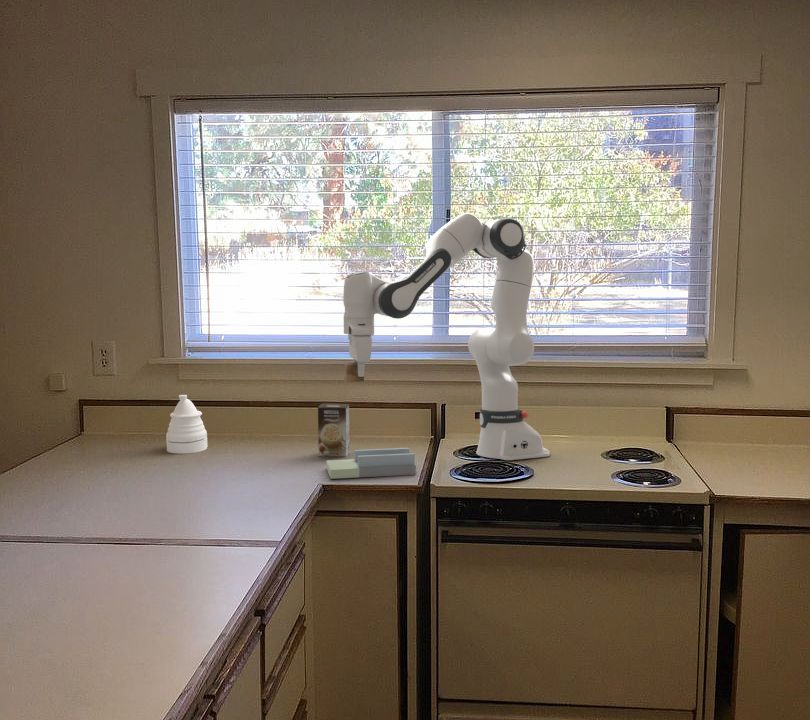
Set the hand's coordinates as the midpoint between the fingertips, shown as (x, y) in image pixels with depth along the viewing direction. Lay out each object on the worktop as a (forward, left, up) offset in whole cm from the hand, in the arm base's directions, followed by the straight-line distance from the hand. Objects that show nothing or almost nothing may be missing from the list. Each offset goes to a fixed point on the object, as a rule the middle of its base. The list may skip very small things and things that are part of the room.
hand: (359, 375), depth 229 cm
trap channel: (-2, +7, -27) cm, 28 cm away
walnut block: (+2, 0, -2) cm, 2 cm away
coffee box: (+6, -16, -27) cm, 32 cm away
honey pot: (+52, -36, -27) cm, 69 cm away
